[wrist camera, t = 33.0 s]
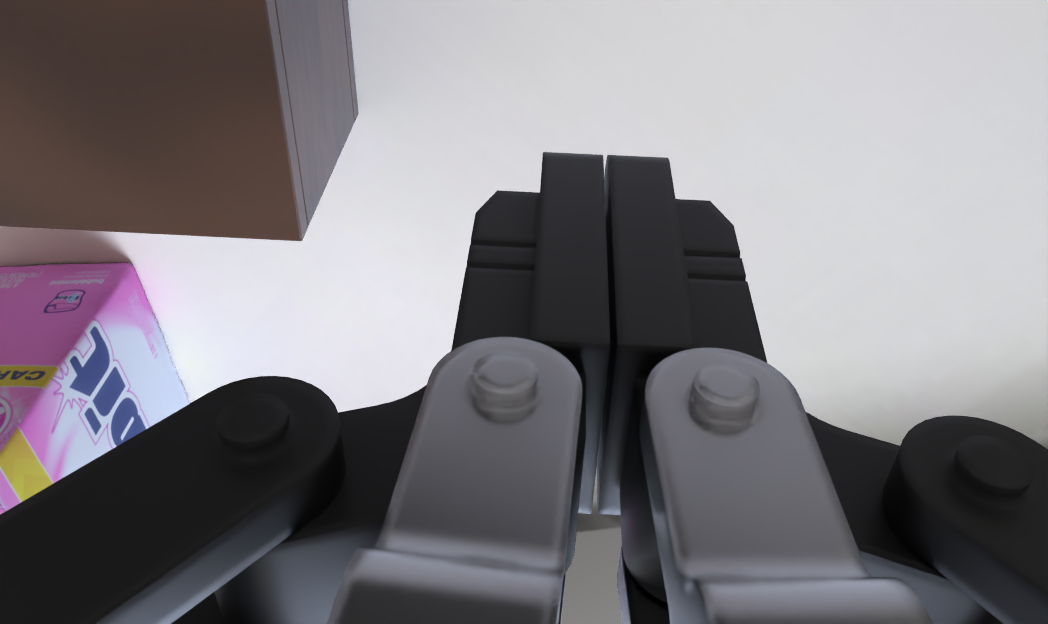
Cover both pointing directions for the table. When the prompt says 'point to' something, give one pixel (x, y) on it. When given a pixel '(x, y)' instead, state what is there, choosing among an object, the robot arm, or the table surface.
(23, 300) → the gum box
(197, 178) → the cabinet
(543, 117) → the table surface
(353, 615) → the robot arm
